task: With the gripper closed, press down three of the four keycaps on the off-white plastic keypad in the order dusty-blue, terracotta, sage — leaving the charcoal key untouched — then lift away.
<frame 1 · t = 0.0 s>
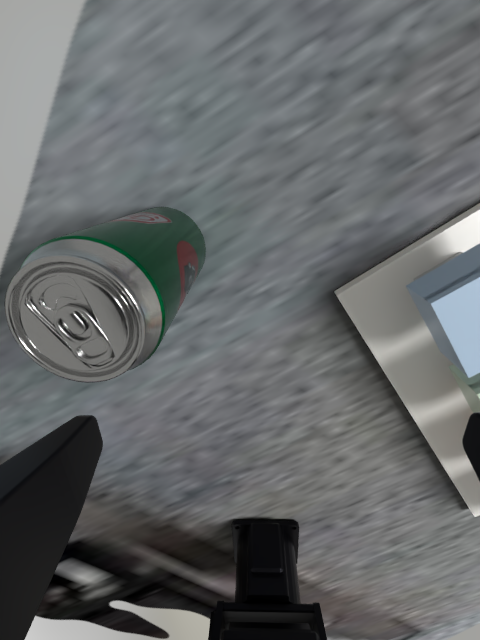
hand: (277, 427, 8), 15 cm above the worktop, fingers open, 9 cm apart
soda can: (169, 246, 21), on the worktop
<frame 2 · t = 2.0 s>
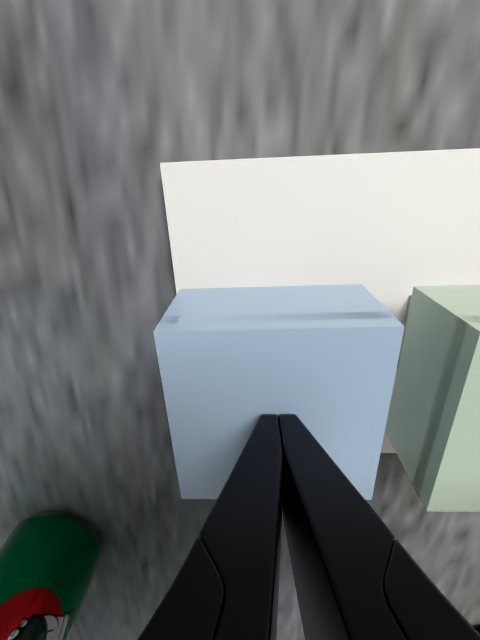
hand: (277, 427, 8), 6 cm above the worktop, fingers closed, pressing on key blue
soda can: (65, 530, 19), on the worktop
key blue: (272, 390, 9), point 4 cm above the worktop, slide at 0.3 cm, touching gripper
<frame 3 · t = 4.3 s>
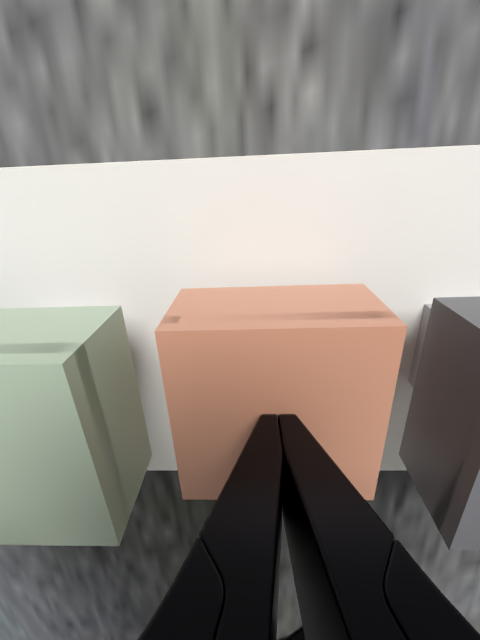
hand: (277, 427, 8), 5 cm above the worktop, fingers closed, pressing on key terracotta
keypad: (182, 338, 12), on the worktop
key terracotta: (273, 390, 9), point 3 cm above the worktop, slide at 1.2 cm, touching gripper
key sage: (20, 423, 8), point 4 cm above the worktop, slide at 0.0 cm
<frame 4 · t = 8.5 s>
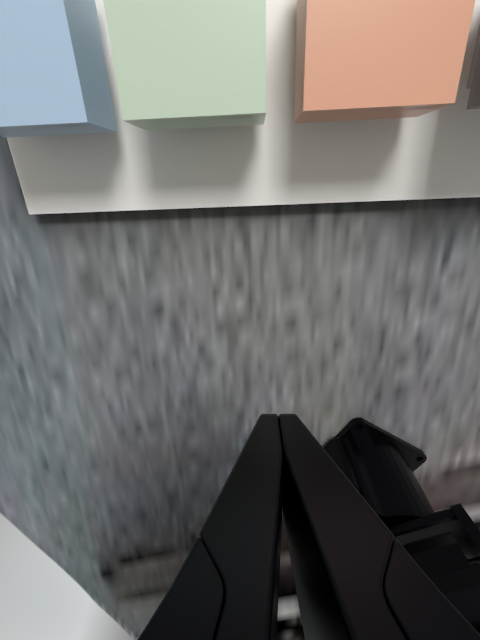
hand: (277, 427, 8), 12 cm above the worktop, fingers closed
keypad: (276, 63, 14), on the worktop
key blue: (21, 50, 12), point 3 cm above the worktop, slide at 1.2 cm
key terracotta: (374, 28, 11), point 3 cm above the worktop, slide at 1.2 cm
key sage: (193, 39, 12), point 3 cm above the worktop, slide at 1.2 cm
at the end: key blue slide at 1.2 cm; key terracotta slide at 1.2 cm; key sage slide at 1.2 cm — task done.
